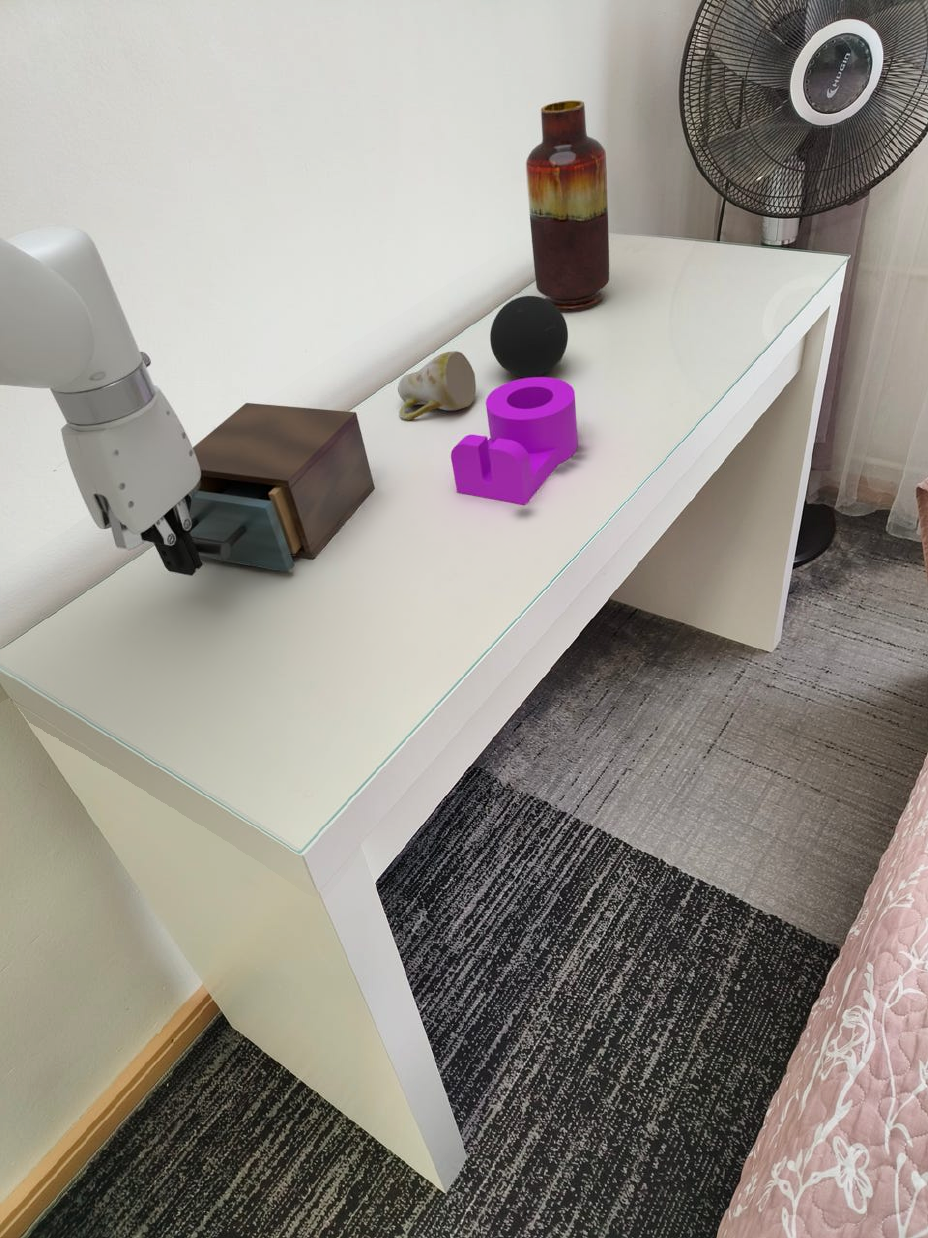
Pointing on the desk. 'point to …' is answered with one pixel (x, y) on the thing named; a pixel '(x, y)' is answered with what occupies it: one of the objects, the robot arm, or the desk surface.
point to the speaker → (529, 336)
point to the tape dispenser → (518, 440)
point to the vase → (568, 210)
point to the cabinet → (295, 463)
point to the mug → (438, 385)
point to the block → (249, 490)
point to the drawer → (243, 526)
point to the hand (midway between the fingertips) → (185, 568)
